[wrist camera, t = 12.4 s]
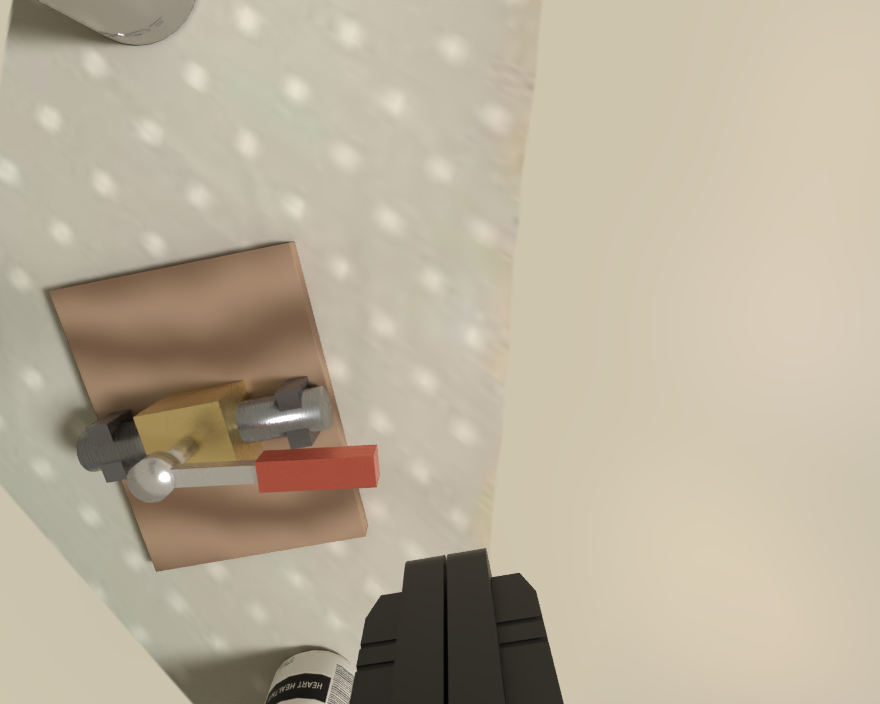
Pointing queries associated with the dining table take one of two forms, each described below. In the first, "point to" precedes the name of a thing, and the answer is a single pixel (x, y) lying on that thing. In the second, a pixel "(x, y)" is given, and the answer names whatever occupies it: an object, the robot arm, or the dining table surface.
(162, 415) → the pipe valve
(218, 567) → the dining table surface
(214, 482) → the valve lever
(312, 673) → the supplement can
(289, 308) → the valve board
